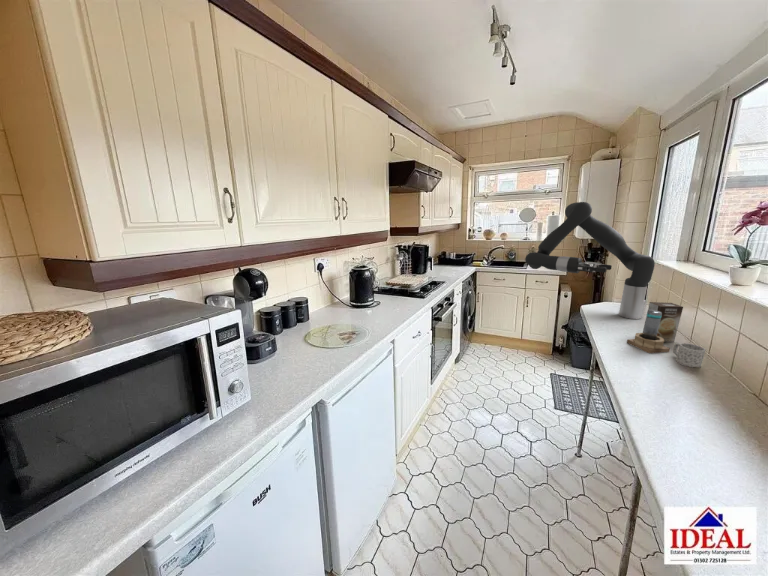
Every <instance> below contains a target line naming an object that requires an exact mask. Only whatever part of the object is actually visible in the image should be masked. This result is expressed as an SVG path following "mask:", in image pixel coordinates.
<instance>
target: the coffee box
mask: <svg viewBox="0 0 768 576" xmlns="http://www.w3.org/2000/svg"><path fill="white" fill-rule="evenodd" d="M648 310H654V311H659V312H662V316H661V320H660V324H659V329H658V333H657V336H659V337H661V338H663V339H664V342H674V343H675V340H676V337H677V332H678V329H679V325H680V324H679V323H680V321H681V317H682V313H683V310H684V306H682V305H680V304H677V303H673V302H658V301H655V302H654V301H649V304H648V309H647V311H648ZM644 325H645V323H644ZM643 330H644V328H643V329H642V331H643Z"/></svg>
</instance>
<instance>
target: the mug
mask: <svg viewBox="0 0 768 576" xmlns="http://www.w3.org/2000/svg"><path fill="white" fill-rule="evenodd" d="M672 353H673V354H674V355H675V356H676V359H675V361H676V362H677V363H678V364H680V365H682V366H684V365H685V367H688V366H689V368H693V367H699V368H701V366H702V364H703V361H704V360H703V359H704V356H705V353H706V348H704V346H703V347H702V346H700V345H697V344H693V343H690V342H689V343H688V342H687V343H686V342H682V343H680V342H676V343H675V342H674V345H673V348H672Z"/></svg>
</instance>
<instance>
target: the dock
mask: <svg viewBox="0 0 768 576" xmlns="http://www.w3.org/2000/svg"><path fill="white" fill-rule="evenodd" d="M642 334H643V332H636V333H635V334H634V335H635V336H634V338H629V339H627V340H626V344H629V345H631V346H633V347H636V348H637V349H640V350H641V351H644V352H646V353H648V354H657V353H659V354H660V353H670V351H671V350H670V349H671V348H670V347H668V346H665V344H664V343H665V341H664V339H663V338H661V337H659V336H657V337H656V340H655V341H654V340H649V339H645V338H642Z"/></svg>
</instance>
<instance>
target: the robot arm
mask: <svg viewBox="0 0 768 576" xmlns="http://www.w3.org/2000/svg"><path fill="white" fill-rule="evenodd" d="M592 212H593V207H592V205H591V204H590V203H588V202H587V201H578V202H573V203H570V204H568V205H567V206H566V208H565V210H564V215H565V216H566V219H565V220H564V221H563V222H562V223H561V224H560V225H559V226H557V227H556V228H555V229H554V230H552V231H551V232H549V234H548V235H547V236H546V237H545V238H544V239H543V240H542V241H541V242H540V244H539V245H538V246H537V247H538V248H537V251H536V252H534V251H533V252H529V253H527V254H526V256H525V258H524V260H525V263H526V264H527V265H528V266H529V267H530V269H534V270H538V269H540V268H541V267H544V268H545V269H547V270H551V271H552V270H553V271H560V272H564V273H569V274H570V273H571V274H579V273H580V272H587V273H595V272H596V273H604V274H605V273H606V272H607V271H610V270H612V264H605V263H603V264H602V262H595V261H594V262H593V261H585V262H583V259H582V258H581V257H575V256H559V255H551V253H552V252H553V251H554V250H555V249H556V248H557V247H558V246H559V244H561V242H563V240H564V239H565V238H566V237H567V236H569V234H570V233H572V232H573V231H574V230H575V229H576V228H577V227H579V228H580V229H582V230H583V231H584V232H586V234H588V235H589V236H590V237H591V238H592V239H593V240H595V241H596V242H597V243H598V245H600V246H601V247H603V248H604V249H606V251H607V252H609V253H611V254H612V256H615V257H616V258H617V260H619V262H621V264H622V265H623V266H624V267H625V268H626V269H628V270H629V271H631V276H630V277H628V278H625V280H624V284H623V288H622V289H623V290H622V294H621V300H620V305H619V311H618V316H620V317H622V318H626V319H631V320H639V319H641V318H643V316H644V311H645V307H646V303H647V301H646V299H645V298H646V293H647V288H648V285H649V283H650V282H651V280H652V278H653V277H652V276H653V274H654V269H655V265H656V263H655V260H654V258H653V257H652V256H650V255H646V254H641V253H638V252H637V251H635V250H634V249H632V248H631V247H630V246H629V245H628V244H627V243H626V240H625V238H624V236H623V235H622V234H621V233H620V232H619V231H617V230H616V229H615V228H614V227H613V226H611V225H610V224H607V223H605V222H603V221H602V220H599V219H597V218H595V217H594V216H593V215H592Z"/></svg>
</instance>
